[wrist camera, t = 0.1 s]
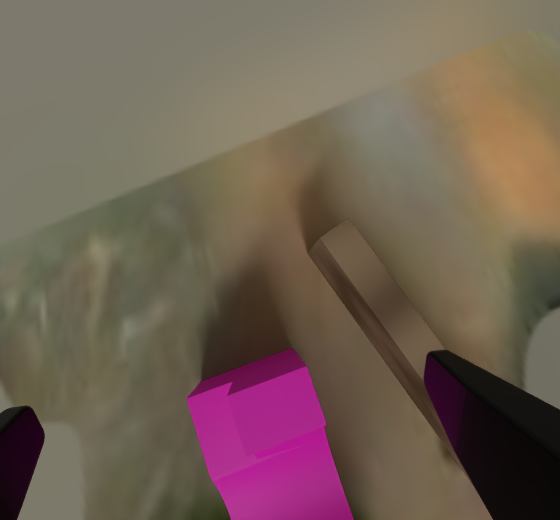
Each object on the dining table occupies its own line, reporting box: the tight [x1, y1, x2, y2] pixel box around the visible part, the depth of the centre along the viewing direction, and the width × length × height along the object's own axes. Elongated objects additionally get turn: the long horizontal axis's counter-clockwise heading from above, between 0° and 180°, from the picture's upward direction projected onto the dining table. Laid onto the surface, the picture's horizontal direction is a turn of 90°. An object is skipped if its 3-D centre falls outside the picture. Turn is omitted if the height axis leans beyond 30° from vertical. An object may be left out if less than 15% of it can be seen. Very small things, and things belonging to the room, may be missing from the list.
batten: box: [308, 218, 472, 483], centre depth 20 cm, size 22×2×5 cm, turn 35°
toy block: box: [187, 348, 354, 520], centre depth 18 cm, size 15×6×8 cm, turn 19°
